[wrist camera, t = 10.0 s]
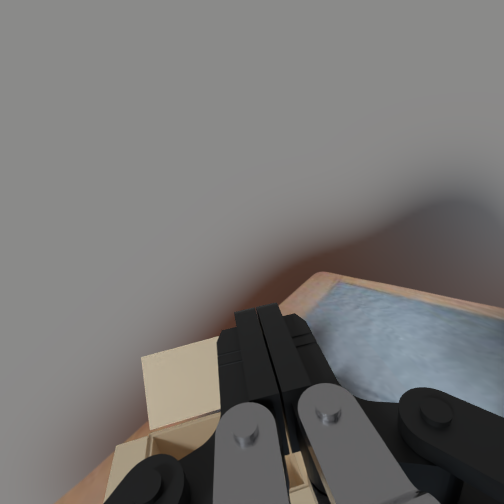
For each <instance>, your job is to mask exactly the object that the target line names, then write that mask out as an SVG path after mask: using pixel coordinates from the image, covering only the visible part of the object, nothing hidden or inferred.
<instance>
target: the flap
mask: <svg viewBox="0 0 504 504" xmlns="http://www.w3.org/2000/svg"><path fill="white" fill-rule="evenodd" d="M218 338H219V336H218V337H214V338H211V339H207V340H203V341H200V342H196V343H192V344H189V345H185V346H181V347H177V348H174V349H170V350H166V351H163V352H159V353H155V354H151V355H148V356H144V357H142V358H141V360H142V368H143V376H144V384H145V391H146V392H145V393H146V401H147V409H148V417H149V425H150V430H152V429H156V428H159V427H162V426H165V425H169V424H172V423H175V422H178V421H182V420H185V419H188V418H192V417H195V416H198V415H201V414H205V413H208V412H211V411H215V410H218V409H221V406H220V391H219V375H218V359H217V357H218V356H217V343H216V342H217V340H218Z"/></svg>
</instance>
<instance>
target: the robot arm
mask: <svg viewBox="0 0 504 504" xmlns="http://www.w3.org/2000/svg"><path fill="white" fill-rule="evenodd" d="M256 310H257V314H256V311H255V308H251V309H246V310H242V311H238V312H234V314H235V320H236V326H237V327H235V328H230V329H226V330H222V332H221V334H220V336H219V338H218V340H217V342H216V343H217V356H218V357H217V359H218V375H219V391H220V406H221V415H220V420H219V423H218V425H217V428H216V430H215V431H214V433H213V434H212V436H211V437H210V438H209V439H208V440H207V441H206V442H205V443H204V444H203V445H202V446H200V447H199V448H197V449H196V450H194V451H193V452H191V453H190V454H188V455H186V456H185V457H183V458H182V459H180V460H177V459H176V458H174V457H173V456H171V455H167V454H157V455H153V456H150V457H147V458H146V459H144V460H142V461H141V462H139V463H138V464H136V465H135V466H134V467H133V468H132V469H131V470H130V471H129V472H128V473H127V475H126V476H125V477H124V478H123V480H122V481H121V482H120V483H119V485H118V486H117V487H116V488H115V490H114V491H113V492H112V493H111V495H110V496H109V497H108V499H107V500H106V501H105V502H104V504H291V502H290V496H289V490H290V482H289V476H288V471H287V465H286V460H285V455H289V454H290V452H289V446H288V440H289V443H290V447H291V451H292V453H296V452H299V451H301V454H302V458H303V461H304V464H305V467H306V471H307V479H308V484H309V487H310V490H311V493H312V495H313V498H314V501H315V504H504V418H503V417H500V416H498V415H496V414H493V413H491V412H489V411H486V410H484V409H482V408H479V407H477V406H475V405H472V404H470V403H468V402H466V401H463V400H461V399H459V398H456V397H454V396H452V395H449V394H447V393H445V392H442V391H439V390H436V389H432V388H425V387H419V388H414V389H410V390H408V391H407V392H405V393H404V394H403V395H402V397H401V398H400V401H399V403H390V402H374V401H367V400H363V399H360V398H357V397H355V396H353V395H352V394H351V393H350V392H349V391H347V390H346V389H344V388H343V387H342V386H341V385H340V384H339V382H338V381H337V379H336V377H335V375H334V373H333V372H332V370H331V368H330V366H329V364H328V362H327V360H326V358H325V357H324V355H323V353H322V351H321V349H320V347H319V345H318V344H317V342H316V340H315V338H314V336H313V334H312V332H311V330H310V328H309V327H308V325H307V323H306V321H305V320H303V319H302V318H301V317H299V316H298V315H296V314H295V313H294V314H290V315H286V316H282V314H281V311H280V309H279V307H278V304H277V303H272V304H268V305H263V306H259V307H256ZM257 316H258V317H257ZM286 432H287V435H286ZM287 436H288V440H287Z"/></svg>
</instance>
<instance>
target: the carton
mask: <svg viewBox="0 0 504 504" xmlns="http://www.w3.org/2000/svg"><path fill="white" fill-rule="evenodd" d="M220 415H221V412H218V413H215V414H212V415H209V416H205V417H202V418H199V419H196V420H192V421H189V422H186V423H182V424H179V425H176V426H173V427H169V428H166V429H163V430H160V431H156V432H153V433H150V434H149V438H148V436H146V437H143V438H140V439H136V440H133V441H130V442H127V443H123V444H120V445H117V446H116V449H115V453H114V458H113V462H112V467H111V471H110V476H109V480H108V485H107V490H106V494H105V499H104V502H105V501H106V500H107V499H108V497H109V496H110V495H111V493H112V492H113V491H114V490H115V488H116V487H117V486H118V485H119V483H120V482H121V481H122V480H123V478H124V477H125V476H126V475H127V473H128V472H129V471H130V470H131V469H132V468H133V467H134V466H135V465H136V464H138V463H139V462H141V461H142V460H144V459H146V458H147V457H150V456H153V455H157V454H167V455H171V456H173V457H174V458H176V459H177V460H180V459H182V458H183V457H185V456H186V455H188V454H190V453H191V452H193V451H194V450H196V449H197V448H199V447H200V446H202V445H203V444H204V443H205V442H206V441H207V440H208V439H209V438H210V437H211V436H212V434H213V433H214V431H215V430H216V428H217V425H218V423H219V420H220ZM286 435H287V432H286ZM287 440H288V436H287ZM288 446H289V452H290V454H289V455H285V460H286V465H287V471H288V476H289V482H290V490H289V496H290V502H291V504H315V501H314V498H313V495H312V493H311V490H310V487H309V484H308V479H307V471H306V467H305V464H304V461H303V458H302V454H301V451H299V452H296V453H292V451H291V447H290V443H289V440H288ZM103 504H104V503H103Z"/></svg>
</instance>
